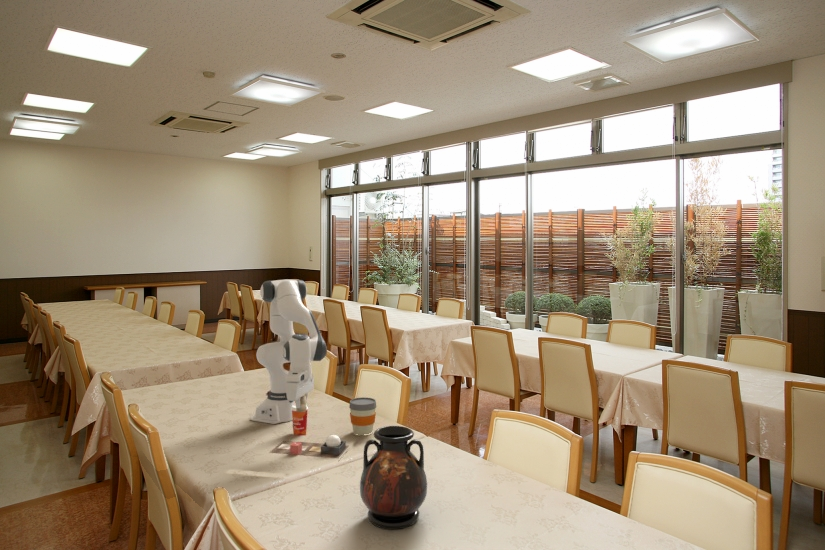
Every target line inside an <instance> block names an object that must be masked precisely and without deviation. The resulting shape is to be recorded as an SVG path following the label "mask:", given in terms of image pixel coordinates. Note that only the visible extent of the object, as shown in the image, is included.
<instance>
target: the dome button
mask: <svg viewBox="0 0 825 550" xmlns="http://www.w3.org/2000/svg"><path fill="white" fill-rule="evenodd" d="M326 438H327V439H326V440H325V442H326V445H327V447H337V448H339V446H340V444H341V441H342V440H341V438H340V437H339V436H338V435H336V434H331V435H329V436H328V437H326Z"/></svg>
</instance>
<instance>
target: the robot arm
mask: <svg viewBox="0 0 825 550" xmlns="http://www.w3.org/2000/svg"><path fill="white" fill-rule="evenodd" d="M307 294H308V287H307V285H306V282H305V281H304V280H302V279H288V278H287V279H277V280H266V281H264V282H263V283H261V287H260V297H261V298H262V299H261V300H262V301H264V302H265V303H270V306H269V328H270V331H271V332H272V333H273V334H275V335H277V336H279V341H275V342H268V343H264V344H262V345H259V347H258V348H257V350H256V355H255V356H256V359H257V362H258V363H259V364H260V365H261V366H263V367H264V369H265V370H266V371H267V373H268V375H269V385H270V389H269V391H267V392H266V393H265V396H267V397H266V398H265V399H263V401H261V402H260V403H259V404H258V405H257V406H256V408H255V411H254V412H255V413H253V415H251V417H250V421H253V422H260V423H266V424H272V425H274V424H275V425H276V424H279V423H287V422H291V421H293V420H292V410H291V408H292V406H293V405H296V408H300V407H301V403H300V398H301V397H302V396H304V394H305V393H306V395H305V396H306V404H307V401H308V400H307V399H308V395H309V393H310V392H311V391H313V390H314V388H315V379H314V374H313V373H312V363H311V361H312V362H320V361H322V360H324V358H325V357H326V356H327V354H328V353H327V352H328V348H327V343H326V341H325V340H324V337H323V336H322V334H321V331H320V328H319V326H318V324H317V322H316V318H315V316H314V314H313V313H312V310H311V309H309V308H308V307H306V306H305V305H304V303H303V301H304V299H305V298H306V296H307ZM294 323H297V324H300V325H303V326H304V327H306V329H307V332H308V334H305V333H295V330H294ZM287 363H288V364H289V363H290V364H289V365H290V366H289V370H287V369H285V368H284V364H287Z"/></svg>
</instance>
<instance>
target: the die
mask: <svg viewBox="0 0 825 550" xmlns="http://www.w3.org/2000/svg"><path fill="white" fill-rule="evenodd" d="M298 442H299V441H295V442H293V443H292V444H291V445H290V454H289V455H292V454H298V455H297V456H300V455H299V454H300V453H301V452H302V443H298Z"/></svg>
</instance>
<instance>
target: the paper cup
mask: <svg viewBox="0 0 825 550" xmlns="http://www.w3.org/2000/svg"><path fill="white" fill-rule="evenodd" d="M291 410H292V420H291V421H292V429H293V430H292V431H293V436H294V435H297V436H307V429H308V427H307V426H308V424H307V423H308V410H309V407H308V405H307V404H306V411H305V412H297V411H296V404H294V405H293V406H292V408H291Z"/></svg>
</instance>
